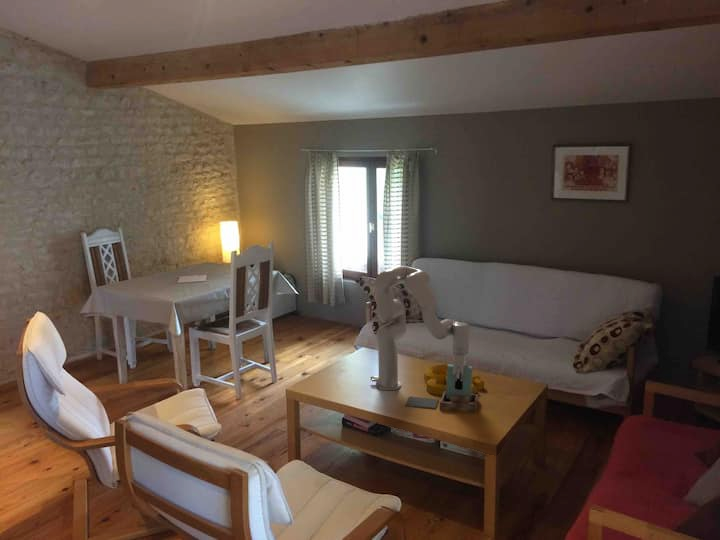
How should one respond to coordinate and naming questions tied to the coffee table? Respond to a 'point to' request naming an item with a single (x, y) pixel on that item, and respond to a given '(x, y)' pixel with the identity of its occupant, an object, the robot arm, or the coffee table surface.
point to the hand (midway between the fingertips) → (459, 387)
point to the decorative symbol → (445, 380)
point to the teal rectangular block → (465, 382)
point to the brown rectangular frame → (459, 404)
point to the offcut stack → (460, 399)
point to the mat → (422, 402)
